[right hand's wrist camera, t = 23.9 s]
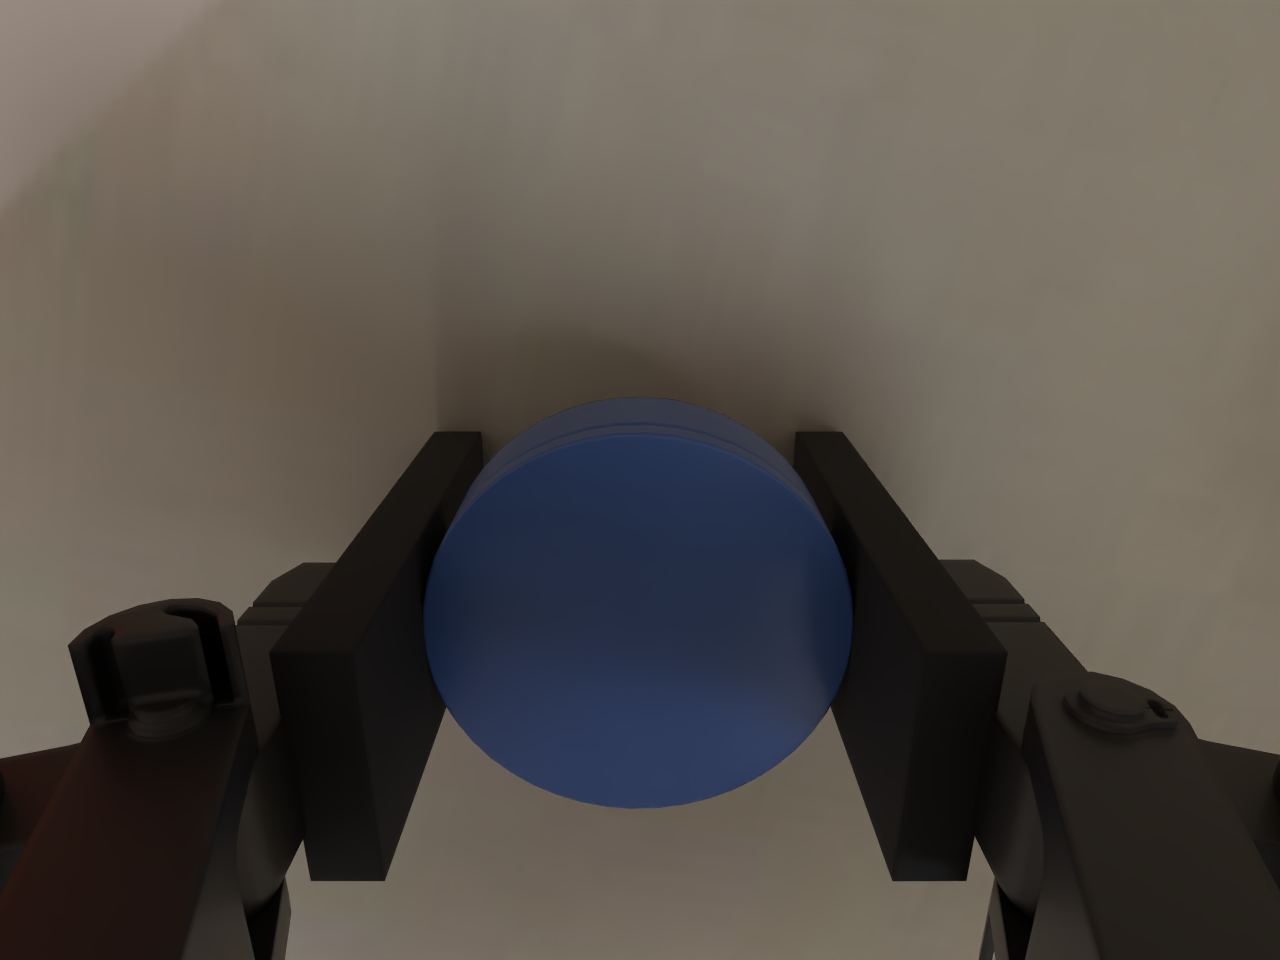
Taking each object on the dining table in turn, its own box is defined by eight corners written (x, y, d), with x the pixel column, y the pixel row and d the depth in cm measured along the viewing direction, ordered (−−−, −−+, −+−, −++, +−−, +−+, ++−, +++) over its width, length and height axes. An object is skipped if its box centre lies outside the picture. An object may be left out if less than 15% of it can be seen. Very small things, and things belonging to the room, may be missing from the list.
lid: (780, 754, 13) (798, 833, 11) (434, 707, 12) (407, 781, 11) (871, 430, 11) (906, 473, 9) (467, 363, 10) (439, 398, 9)
